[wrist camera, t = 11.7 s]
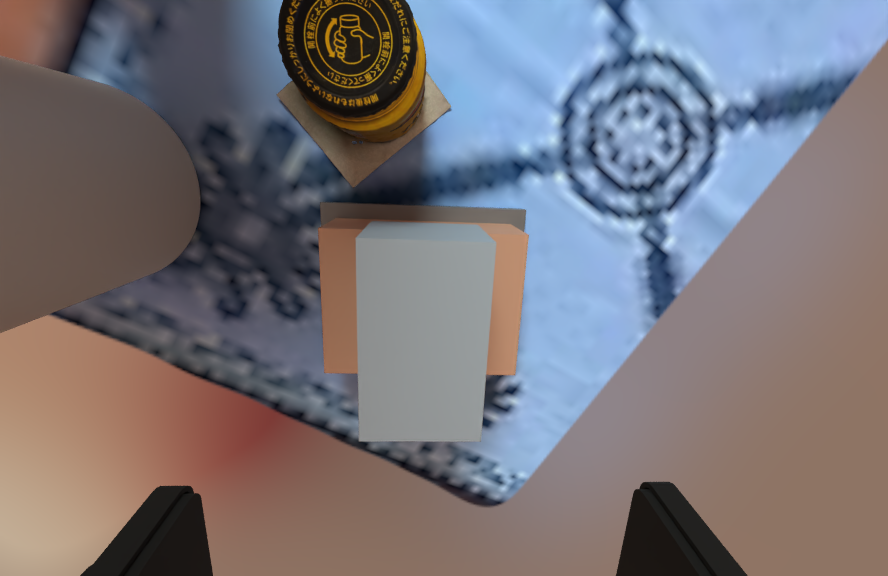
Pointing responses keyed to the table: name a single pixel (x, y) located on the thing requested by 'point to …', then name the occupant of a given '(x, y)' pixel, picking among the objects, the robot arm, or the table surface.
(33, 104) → the cylinder vase
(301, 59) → the condiment
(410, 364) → the brick
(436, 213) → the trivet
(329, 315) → the brick
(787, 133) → the table surface
